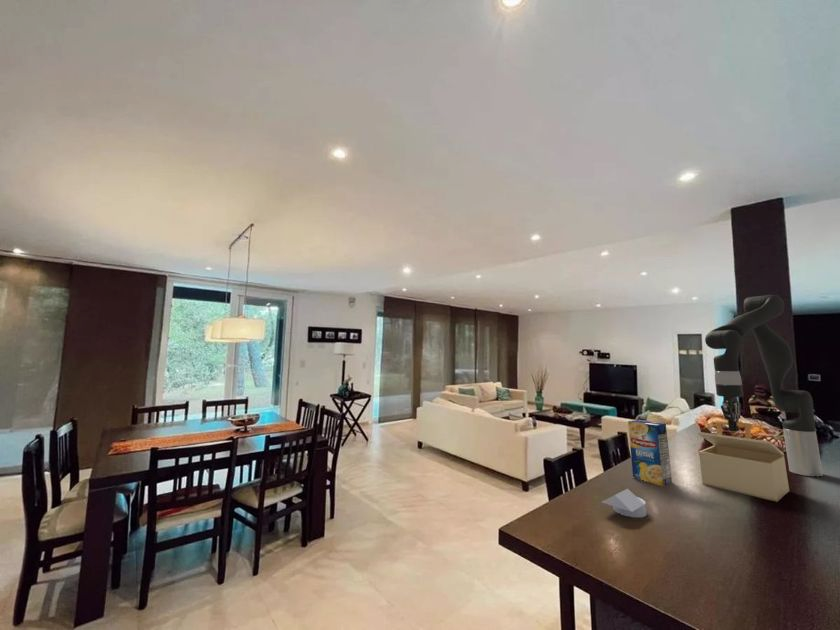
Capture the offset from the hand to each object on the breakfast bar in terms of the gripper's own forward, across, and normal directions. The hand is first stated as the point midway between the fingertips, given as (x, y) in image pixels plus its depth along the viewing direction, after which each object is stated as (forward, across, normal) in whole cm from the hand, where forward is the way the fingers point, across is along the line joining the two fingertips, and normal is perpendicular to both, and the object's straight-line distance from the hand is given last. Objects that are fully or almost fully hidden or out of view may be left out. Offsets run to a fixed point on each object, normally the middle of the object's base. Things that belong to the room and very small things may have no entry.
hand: (734, 431), depth 128 cm
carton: (+20, -4, 0) cm, 21 cm away
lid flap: (+5, -4, 0) cm, 6 cm away
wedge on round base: (+22, +52, -14) cm, 58 cm away
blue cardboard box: (+21, +14, -23) cm, 34 cm away
